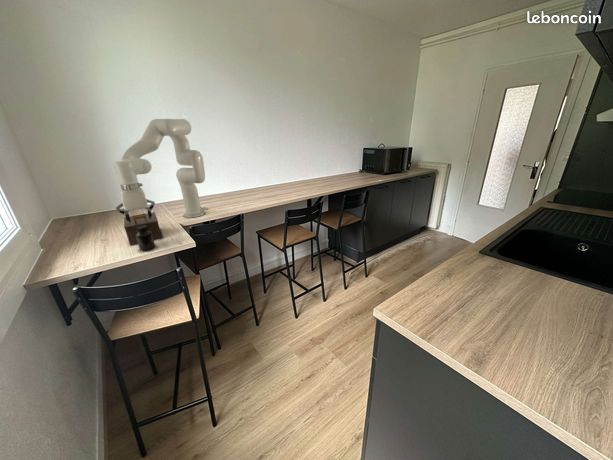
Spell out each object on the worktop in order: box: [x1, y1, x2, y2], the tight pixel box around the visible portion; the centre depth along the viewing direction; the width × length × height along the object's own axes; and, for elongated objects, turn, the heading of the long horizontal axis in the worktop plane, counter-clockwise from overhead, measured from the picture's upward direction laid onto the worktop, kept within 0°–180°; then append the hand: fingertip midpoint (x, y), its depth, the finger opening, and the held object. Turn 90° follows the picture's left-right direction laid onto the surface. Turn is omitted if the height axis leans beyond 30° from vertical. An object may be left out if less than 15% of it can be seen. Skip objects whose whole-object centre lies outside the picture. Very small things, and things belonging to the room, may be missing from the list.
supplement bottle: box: [136, 225, 156, 252], centre depth 124 cm, size 7×7×12 cm
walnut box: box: [124, 221, 163, 246], centre depth 138 cm, size 16×15×10 cm
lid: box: [123, 211, 159, 229], centre depth 134 cm, size 17×15×5 cm
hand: (140, 219), depth 130 cm, fingers open, 8 cm apart
